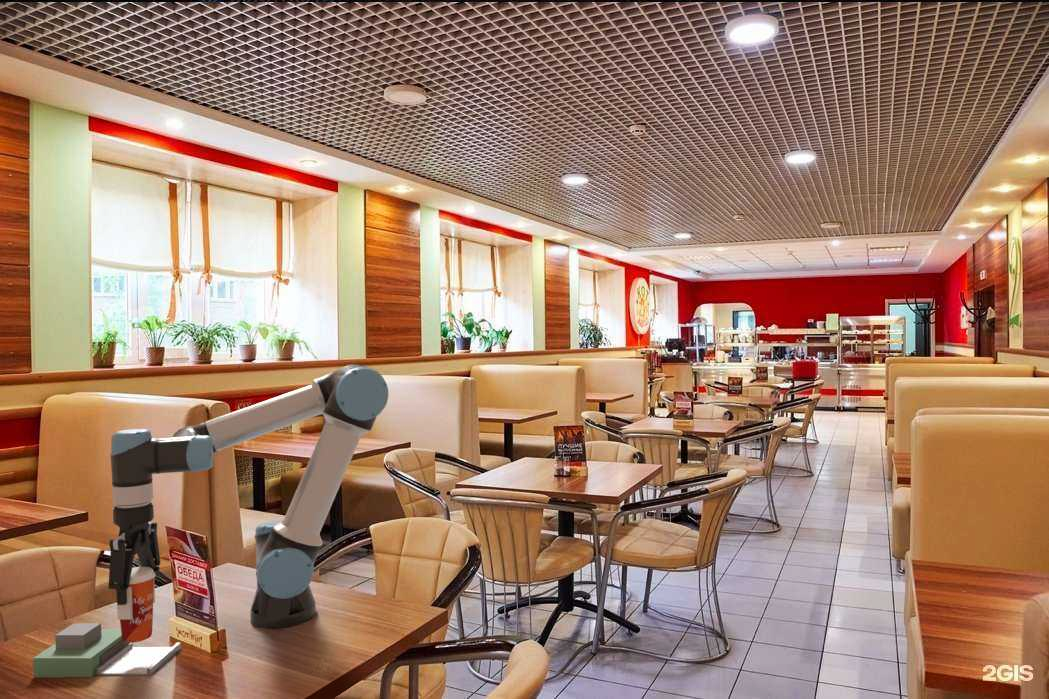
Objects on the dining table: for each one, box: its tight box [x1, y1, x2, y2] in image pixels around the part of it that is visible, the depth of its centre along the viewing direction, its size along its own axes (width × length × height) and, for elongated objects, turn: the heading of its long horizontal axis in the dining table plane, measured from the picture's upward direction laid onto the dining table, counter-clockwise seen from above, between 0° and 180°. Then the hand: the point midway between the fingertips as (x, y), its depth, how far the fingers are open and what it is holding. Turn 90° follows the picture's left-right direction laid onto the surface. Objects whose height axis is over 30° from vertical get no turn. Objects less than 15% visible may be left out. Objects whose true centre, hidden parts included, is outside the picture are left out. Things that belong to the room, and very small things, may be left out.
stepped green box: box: [32, 622, 128, 679], centre depth 156 cm, size 12×14×7 cm
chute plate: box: [94, 642, 182, 676], centre depth 156 cm, size 12×12×1 cm
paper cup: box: [119, 566, 156, 643], centre depth 155 cm, size 8×8×14 cm
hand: (136, 610), depth 155 cm, fingers closed on paper cup, 8 cm apart
